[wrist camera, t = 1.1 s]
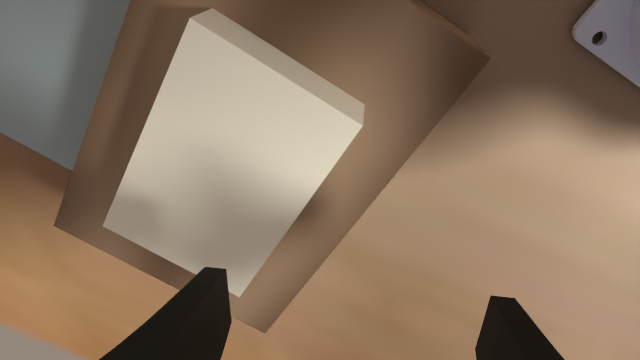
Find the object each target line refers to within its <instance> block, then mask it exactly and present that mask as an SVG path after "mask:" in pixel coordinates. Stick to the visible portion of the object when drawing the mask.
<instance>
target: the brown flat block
mask: <svg viewBox="0 0 640 360" xmlns="http://www.w3.org/2000/svg"><path fill="white" fill-rule="evenodd" d="M211 8H213V9H215V10H217V11H218V12H220V13H221V14H223V15H225V16H226V17H228V18H229V19H231V20H232V21H234V22H236V23H237V24H239V25H240V26H242V27H243V28H245V29H247V30H248V31H250V32H251V33H253V34H254V35H256V36H258V37H259V38H261V39H262V40H264V41H265V42H267V43H269V44H270V45H272V46H273V47H275V48H277V49H278V50H280V51H281V52H283V53H284V54H286V55H288V56H289V57H291V58H292V59H294V60H295V61H297V62H299V63H300V64H302V65H303V66H305V67H306V68H308V69H310V70H311V71H313V72H314V73H316V74H317V75H319V76H321V77H322V78H324V79H325V80H327V81H329V82H330V83H332V84H333V85H335V86H336V87H338V88H340V89H341V90H343V91H344V92H346V93H347V94H349V95H351V96H352V97H354V98H355V99H357V100H358V101H360V102H362V103H363V104H365V108H364V119H363V126H362V128H361V129H360V131H359V132H358V133H357V135H356V136H355V138H354V139H353V140H352V142H351V143H350V144H349V146H348V147H347V149H346V150H345V151H344V153H343V154H342V156H341V157H340V158H339V160H338V161H337V163H336V164H335V165H334V167H333V168H332V169H331V171H330V172H329V174H328V175H327V176H326V178H325V179H324V181H323V182H322V183H321V185H320V186H319V188H318V189H317V190H316V192H315V193H314V194H313V196H312V197H311V199H310V200H309V201H308V203H307V204H306V206H305V207H304V208H303V210H302V211H301V213H300V214H299V215H298V217H297V218H296V219H295V221H294V222H293V224H292V225H291V226H290V228H289V229H288V231H287V232H286V233H285V235H284V236H283V238H282V239H281V240H280V242H279V243H278V244H277V246H276V247H275V249H274V250H273V251H272V253H271V254H270V256H269V257H268V258H267V260H266V261H265V263H264V264H263V265H262V267H261V268H260V269H259V271H258V272H257V274H256V275H255V276H254V278H253V279H252V281H251V282H250V283H249V285H248V286H247V288H246V289H245V290H244V292H243V293H242V294H241V296H240V297H238V296H236V295H234V294H232V293H230V292H229V301H230V311H231V316H232V317H234V318H236V319H238V320H240V321H241V322H243V323H245V324H247V325H249V326H251V327H253V328H255V329H257V330H259V331H261V332H263V333H266V332H267V330H268V329H269V328H270V327H271V326H272V324H273V323H274V322H275V321H276V319H277V318H278V317H279V316H280V315H281V313H282V312H283V311H284V310H285V308H286V307H287V306H288V305H289V304H290V302H291V301H292V300H293V299H294V297H295V296H296V295H297V294H298V293H299V291H300V290H301V289H302V288H303V287H304V285H305V284H306V283H307V282H308V280H309V279H310V278H311V277H312V276H313V274H314V273H315V272H316V271H317V269H318V268H319V267H320V266H321V265H322V263H323V262H324V261H325V260H326V258H327V257H328V256H329V255H330V254H331V252H332V251H333V250H334V249H335V247H336V246H337V245H338V244H339V243H340V241H341V240H342V239H343V238H344V237H345V235H346V234H347V233H348V232H349V230H350V229H351V228H352V227H353V226H354V224H355V223H356V222H357V221H358V219H359V218H360V217H361V216H362V215H363V213H364V212H365V211H366V210H367V208H368V207H369V206H370V205H371V204H372V202H373V201H374V200H375V199H376V197H377V196H378V195H379V194H380V193H381V191H382V190H383V189H384V188H385V186H386V185H387V184H388V183H389V182H390V180H391V179H392V178H393V177H394V176H395V174H396V173H397V172H398V171H399V169H400V168H401V167H402V166H403V165H404V163H405V162H406V161H407V160H408V158H409V157H410V156H411V155H412V154H413V152H414V151H415V150H416V149H417V147H418V146H419V145H420V144H421V143H422V141H423V140H424V139H425V138H426V136H427V135H428V134H429V133H430V132H431V130H432V129H433V128H434V127H435V125H436V124H437V123H438V122H439V121H440V119H441V118H442V117H443V116H444V115H445V113H446V112H447V111H448V110H449V108H450V107H451V106H452V105H453V104H454V102H455V101H456V100H457V99H458V97H459V96H460V95H461V94H462V93H463V91H464V90H465V89H466V88H467V86H468V85H469V84H470V83H471V82H472V80H473V79H474V78H475V77H476V75H477V74H478V73H479V72H480V71H481V69H482V68H483V67H484V66H485V64H486V63H487V62H488V61H489V60H490V58H489V57H488V56H487V55H486V54H485V52H484V51H483V50H482V49H481V48H480V47H479V46H478V45H477V44H476V43H475V41H474V40H473V39H472V38H471V37H470V36H469V35H468V34H467V33H465V32H464V31H462V30H461V29H460V28H458V27H457V26H455V25H454V24H452V23H451V22H449V21H448V20H447V19H445V18H444V17H442V16H441V15H439V14H438V13H437V12H435V11H434V10H432V9H431V8H429V7H428V6H427V5H425V4H424V3H422V2H421V1H419V0H130V3H129V6H128V9H127V12H126V15H125V18H124V21H123V24H122V27H121V30H120V33H119V36H118V39H117V41H116V44H115V47H114V50H113V53H112V56H111V59H110V62H109V65H108V68H107V71H106V74H105V77H104V80H103V83H102V86H101V88H100V91H99V94H98V97H97V100H96V103H95V106H94V109H93V112H92V115H91V118H90V121H89V124H88V127H87V130H86V133H85V135H84V138H83V141H82V144H81V147H80V150H79V153H78V156H77V159H76V162H75V165H74V168H73V171H72V174H71V177H70V180H69V182H68V185H67V188H66V191H65V194H64V197H63V200H62V203H61V206H60V209H59V212H58V215H57V218H56V221H55V224H54V226H55V227H57V228H59V229H61V230H63V231H65V232H67V233H69V234H71V235H73V236H75V237H77V238H79V239H81V240H83V241H85V242H86V243H88V244H90V245H92V246H94V247H96V248H98V249H100V250H102V251H104V252H106V253H108V254H110V255H112V256H114V257H116V258H118V259H120V260H122V261H124V262H126V263H128V264H130V265H132V266H134V267H136V268H137V269H139V270H141V271H143V272H145V273H147V274H149V275H151V276H153V277H155V278H157V279H159V280H161V281H163V282H165V283H167V284H169V285H171V286H173V287H175V288H177V289H179V290H181V289H182V288H183V287H184V286H185V285H186V284H187V283H188V282H189V281H190V280H191V279H192V278H193V277H194V276H195V275H196V274H194V273H192V272H190V271H188V270H186V269H184V268H182V267H180V266H178V265H176V264H174V263H173V262H171V261H169V260H167V259H165V258H163V257H161V256H159V255H157V254H155V253H153V252H151V251H149V250H147V249H146V248H144V247H142V246H140V245H138V244H136V243H134V242H132V241H130V240H128V239H126V238H124V237H122V236H121V235H119V234H117V233H115V232H113V231H111V230H109V229H107V228H105V227H103V224H104V221H105V219H106V217H107V214H108V212H109V209H110V207H111V205H112V202H113V200H114V197H115V195H116V193H117V190H118V188H119V186H120V183H121V181H122V178H123V176H124V174H125V171H126V169H127V166H128V164H129V162H130V159H131V157H132V154H133V152H134V150H135V147H136V145H137V143H138V140H139V138H140V135H141V133H142V131H143V128H144V126H145V123H146V121H147V119H148V116H149V114H150V111H151V109H152V107H153V104H154V102H155V100H156V97H157V95H158V92H159V90H160V88H161V85H162V83H163V80H164V78H165V76H166V73H167V71H168V68H169V66H170V64H171V61H172V59H173V57H174V54H175V52H176V49H177V47H178V45H179V42H180V40H181V37H182V35H183V33H184V30H185V28H186V25H187V23H188V21H189V18H190V17H193V16H195V15H197V14H200V13H202V12H204V11H207V10H209V9H211Z"/></svg>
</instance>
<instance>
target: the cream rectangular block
mask: <svg viewBox="0 0 640 360" xmlns="http://www.w3.org/2000/svg"><path fill="white" fill-rule="evenodd" d="M364 108H365V104H363V103H362V102H360V101H358V100H357V99H355V98H354V97H352V96H351V95H349V94H347V93H346V92H344V91H343V90H341V89H340V88H338V87H336V86H335V85H333V84H332V83H330V82H329V81H327V80H325V79H324V78H322V77H321V76H319V75H317V74H316V73H314V72H313V71H311V70H310V69H308V68H306V67H305V66H303V65H302V64H300V63H299V62H297V61H295V60H294V59H292V58H291V57H289V56H288V55H286V54H284V53H283V52H281V51H280V50H278V49H277V48H275V47H273V46H272V45H270V44H269V43H267V42H265V41H264V40H262V39H261V38H259V37H258V36H256V35H254V34H253V33H251V32H250V31H248V30H247V29H245V28H243V27H242V26H240V25H239V24H237V23H236V22H234V21H232V20H231V19H229V18H228V17H226V16H225V15H223V14H221V13H220V12H218V11H217V10H215V9H213V8H211V9H209V10H207V11H204V12H202V13H200V14H197V15H195V16H193V17H190V18H189V21H188V23H187V25H186V28H185V30H184V33H183V35H182V37H181V40H180V42H179V45H178V47H177V49H176V52H175V54H174V57H173V59H172V61H171V64H170V66H169V68H168V71H167V73H166V76H165V78H164V80H163V83H162V85H161V88H160V90H159V92H158V95H157V97H156V100H155V102H154V104H153V107H152V109H151V111H150V114H149V116H148V119H147V121H146V123H145V126H144V128H143V131H142V133H141V135H140V138H139V140H138V143H137V145H136V147H135V150H134V152H133V154H132V157H131V159H130V162H129V164H128V166H127V169H126V171H125V174H124V176H123V178H122V181H121V183H120V186H119V188H118V190H117V193H116V195H115V197H114V200H113V202H112V205H111V207H110V209H109V212H108V214H107V217H106V219H105V221H104V224H103V227H105V228H107V229H109V230H111V231H113V232H115V233H117V234H119V235H121V236H122V237H124V238H126V239H128V240H130V241H132V242H134V243H136V244H138V245H140V246H142V247H144V248H146V249H147V250H149V251H151V252H153V253H155V254H157V255H159V256H161V257H163V258H165V259H167V260H169V261H171V262H173V263H174V264H176V265H178V266H180V267H182V268H184V269H186V270H188V271H190V272H192V273H194V274H196V275H197V274H198V273H199V272H200V271H201V270H202V269H203V268H204V267H213V268H223V269H226V272H227V281H228V291H229V292H230V293H232V294H234V295H236V296H238V297H240V296H241V294H242V293H243V292H244V290H245V289H246V288H247V286H248V285H249V283H250V282H251V281H252V279H253V278H254V276H255V275H256V274H257V272H258V271H259V269H260V268H261V267H262V265H263V264H264V263H265V261H266V260H267V258H268V257H269V256H270V254H271V253H272V251H273V250H274V249H275V247H276V246H277V244H278V243H279V242H280V240H281V239H282V238H283V236H284V235H285V233H286V232H287V231H288V229H289V228H290V226H291V225H292V224H293V222H294V221H295V219H296V218H297V217H298V215H299V214H300V213H301V211H302V210H303V208H304V207H305V206H306V204H307V203H308V201H309V200H310V199H311V197H312V196H313V194H314V193H315V192H316V190H317V189H318V188H319V186H320V185H321V183H322V182H323V181H324V179H325V178H326V176H327V175H328V174H329V172H330V171H331V169H332V168H333V167H334V165H335V164H336V163H337V161H338V160H339V158H340V157H341V156H342V154H343V153H344V151H345V150H346V149H347V147H348V146H349V144H350V143H351V142H352V140H353V139H354V138H355V136H356V135H357V133H358V132H359V131H360V129H361V128H362V126H363V119H364Z"/></svg>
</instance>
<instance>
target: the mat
mask: <svg viewBox="0 0 640 360" xmlns="http://www.w3.org/2000/svg"><path fill="white" fill-rule="evenodd" d="M129 3H130V0H0V133H2V134H4V135H6V136H7V137H9V138H11V139H13V140H15V141H17V142H19V143H21V144H22V145H24V146H26V147H28V148H30V149H32V150H34V151H35V152H37V153H39V154H41V155H43V156H45V157H47V158H49V159H50V160H52V161H54V162H56V163H58V164H60V165H62V166H64V167H65V168H67V169H69V170H71V171H73V168H74V165H75V162H76V159H77V156H78V153H79V150H80V147H81V144H82V141H83V138H84V135H85V133H86V130H87V127H88V124H89V121H90V118H91V115H92V112H93V109H94V106H95V103H96V100H97V97H98V94H99V91H100V88H101V86H102V83H103V80H104V77H105V74H106V71H107V68H108V65H109V62H110V59H111V56H112V53H113V50H114V47H115V44H116V41H117V39H118V36H119V33H120V30H121V27H122V24H123V21H124V18H125V15H126V12H127V9H128V6H129Z"/></svg>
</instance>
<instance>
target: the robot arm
mask: <svg viewBox="0 0 640 360" xmlns="http://www.w3.org/2000/svg"><path fill="white" fill-rule="evenodd" d="M601 31H602V33H603V37H602V39H601V40H600V41H599V42H597V43H594V44H593V43H592V38H593V36H594V35H595V34H596V33H597V32H601ZM572 36H573V38H574V39H575V41H576V42H578V43H579V44H581V45H582V46H583V47H585V48H586V49H587V50H589V51H590V52H592V53H593V54H594V55H596V56H597V57H598V58H600V59H601V60H602V61H604V62H605V63H607V64H608V65H609V66H611V67H612V68H613V69H615V70H616V71H617V72H619V73H620V74H622V75H623V76H624V77H626V78H627V79H628V80H630V81H631V82H633V83H634V84H635V85H637V86H638V87H639V88H640V0H595V2H594V3H593V4H592V5H591V6H590V7H589V8H588V9H587V11H586V12H585V13H584V14H583V15H582V16H581V17H580V18H579V20H578V21H577V22H576V23H575V25H574V26H573V29H572ZM231 322H232V321H231V311H230V301H229V291H228V281H227V272H226V269H223V268H213V267H204V268H203V269H202V270H201V271H200V272H199V273H198V274H197V275H195V276H194V277H193V278H192V279H191V280H190V281H189V282H188V283H187V284H186V285H185V286H184V287H183V288H182V289H181V290H180V291H179V292H178V293H177V294H176V295H175V296H174V297H173V298H172V299H171V300H169V301H168V302H167V303H166V304H165V305H164V306H163V307H162V308H161V309H160V310H158V311H157V312H156V313H155V314H154V315H153V316H152V317H151V318H150V319H149V320H147V321H146V322H145V323H144V324H143V325H142V326H140V327H139V328H138V329H137V330H136V331H134V332H133V333H132V334H131V335H130V336H128V337H127V338H126V339H125V340H124V341H122V342H121V343H120V344H119V345H117V346H116V347H115V348H114V349H112V350H111V351H110V352H108V353H107V354H106V355H104V356H103V357H102V358H100V359H99V360H220V359H221V356H222V353H223V350H224V346H225V343H226V340H227V336H228V332H229V329H230V325H231ZM475 350H476V358H477V360H564V359H563V357H562V356H561V355H560V354H559V353H558V352H557V350H556V349H555V348H554V347H553V345H552V344H551V343H550V342H549V341H548V339H547V338H546V337H545V336H544V334H543V333H542V332H541V331H540V329H539V328H538V327H537V326H536V324H535V323H534V322H533V320H532V319H531V318H530V317H529V315H528V314H527V313H526V312H525V310H524V309H523V308H522V307H521V305H520V304H519V303H518V302H517V300H516V299H515V298H508V297H498V296H491V297H490V300H489V304H488V307H487V311H486V314H485V317H484V321H483V324H482V328H481V331H480V335H479V338H478V341H477V345H476V348H475Z"/></svg>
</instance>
